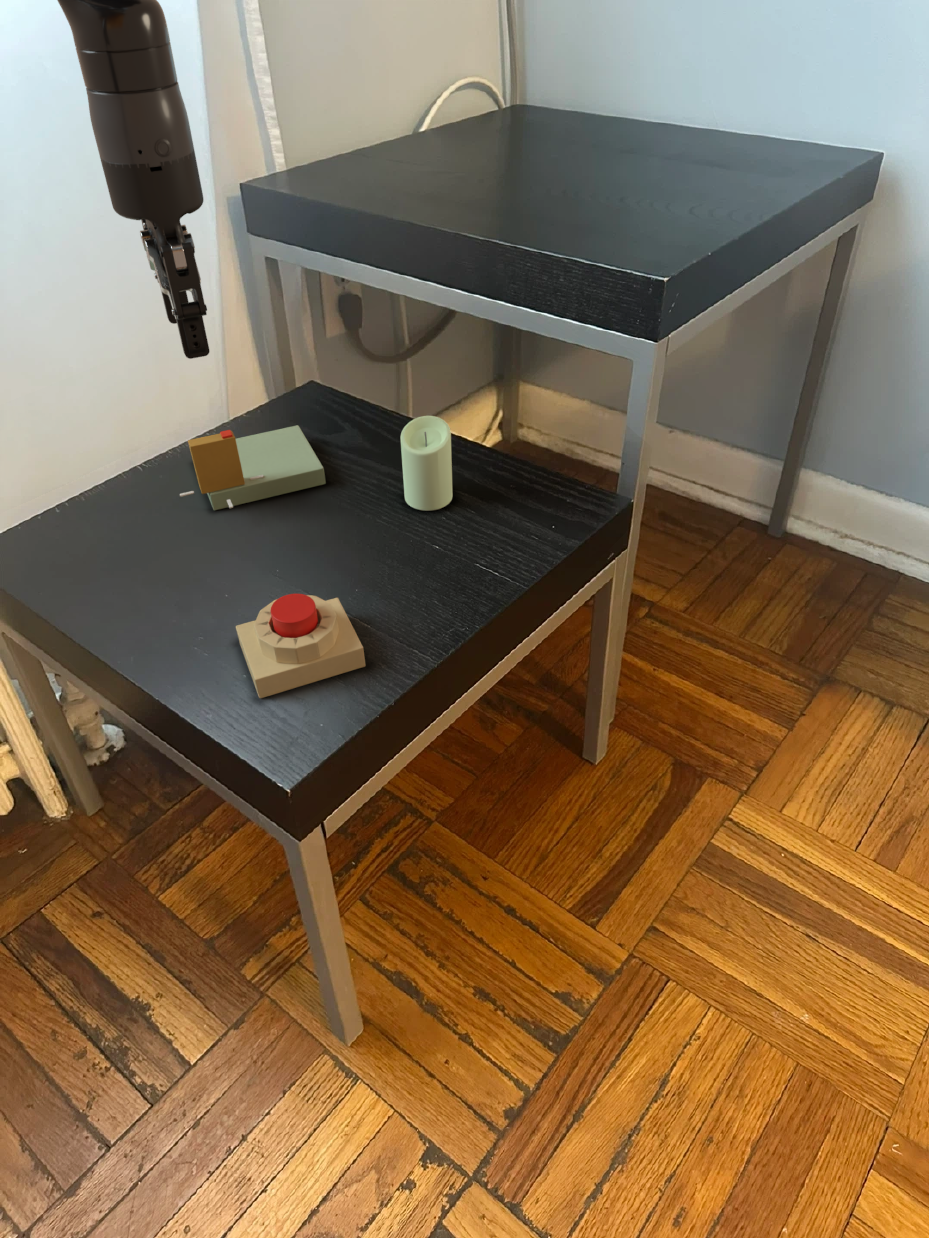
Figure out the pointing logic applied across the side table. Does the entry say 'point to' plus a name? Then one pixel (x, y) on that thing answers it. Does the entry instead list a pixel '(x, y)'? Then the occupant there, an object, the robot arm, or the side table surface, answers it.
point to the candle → (427, 463)
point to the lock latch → (216, 461)
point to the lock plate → (271, 468)
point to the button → (294, 615)
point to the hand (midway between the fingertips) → (188, 338)
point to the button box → (300, 649)
